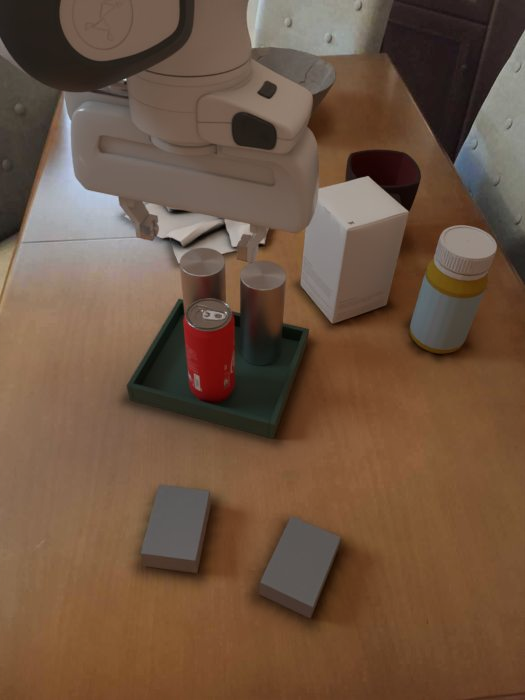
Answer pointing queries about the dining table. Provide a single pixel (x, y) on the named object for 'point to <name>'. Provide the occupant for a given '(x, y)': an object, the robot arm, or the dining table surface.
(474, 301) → the bottle
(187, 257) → the silver cans
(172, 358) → the can tray
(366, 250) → the rectangular carton
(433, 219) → the dining table surface
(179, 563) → the thick grey tile
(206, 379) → the beverage can
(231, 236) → the cloth
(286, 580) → the grey block right
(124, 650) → the dining table surface
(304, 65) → the ceramic bowl
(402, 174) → the cup
